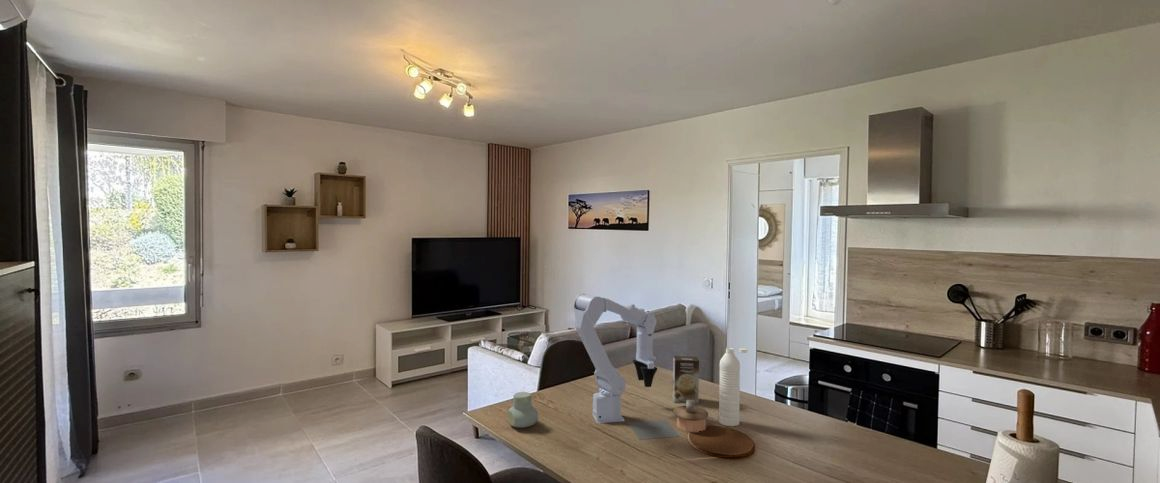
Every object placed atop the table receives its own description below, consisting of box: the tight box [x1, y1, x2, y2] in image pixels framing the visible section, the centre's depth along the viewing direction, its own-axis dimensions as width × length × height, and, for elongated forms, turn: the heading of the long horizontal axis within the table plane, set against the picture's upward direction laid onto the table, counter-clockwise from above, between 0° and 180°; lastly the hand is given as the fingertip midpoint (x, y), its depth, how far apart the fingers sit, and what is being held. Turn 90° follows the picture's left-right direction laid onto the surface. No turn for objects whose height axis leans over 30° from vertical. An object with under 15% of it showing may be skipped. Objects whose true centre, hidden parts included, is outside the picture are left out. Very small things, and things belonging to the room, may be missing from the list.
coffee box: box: [671, 355, 700, 405], centre depth 181 cm, size 9×6×16 cm
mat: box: [627, 419, 681, 441], centre depth 154 cm, size 13×13×1 cm
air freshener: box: [506, 391, 539, 429], centre depth 159 cm, size 11×8×10 cm
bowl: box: [676, 417, 707, 433], centre depth 156 cm, size 9×9×4 cm
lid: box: [673, 400, 709, 421], centre depth 156 cm, size 11×11×4 cm
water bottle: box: [718, 347, 748, 427], centre depth 160 cm, size 9×6×25 cm
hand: (644, 383), depth 172 cm, fingers open, 7 cm apart
